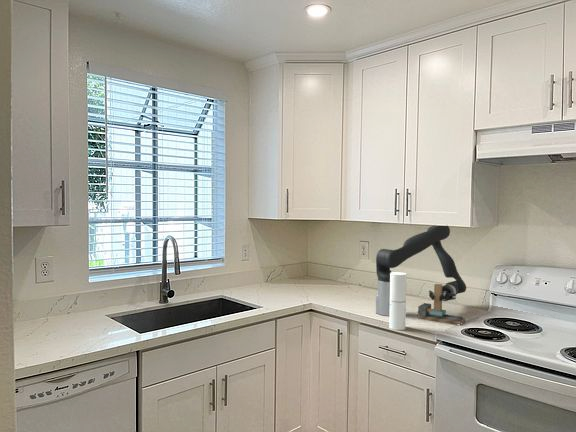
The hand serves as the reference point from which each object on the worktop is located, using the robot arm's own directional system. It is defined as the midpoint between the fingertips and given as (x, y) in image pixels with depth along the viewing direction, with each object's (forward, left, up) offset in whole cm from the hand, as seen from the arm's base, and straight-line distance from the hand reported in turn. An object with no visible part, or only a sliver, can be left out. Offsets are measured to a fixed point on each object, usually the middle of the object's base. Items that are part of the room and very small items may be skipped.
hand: (436, 298), depth 207 cm
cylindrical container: (-10, -23, -11) cm, 28 cm away
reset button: (-5, +3, -9) cm, 10 cm away
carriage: (0, +3, -8) cm, 9 cm away
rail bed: (+2, +3, -11) cm, 12 cm away
